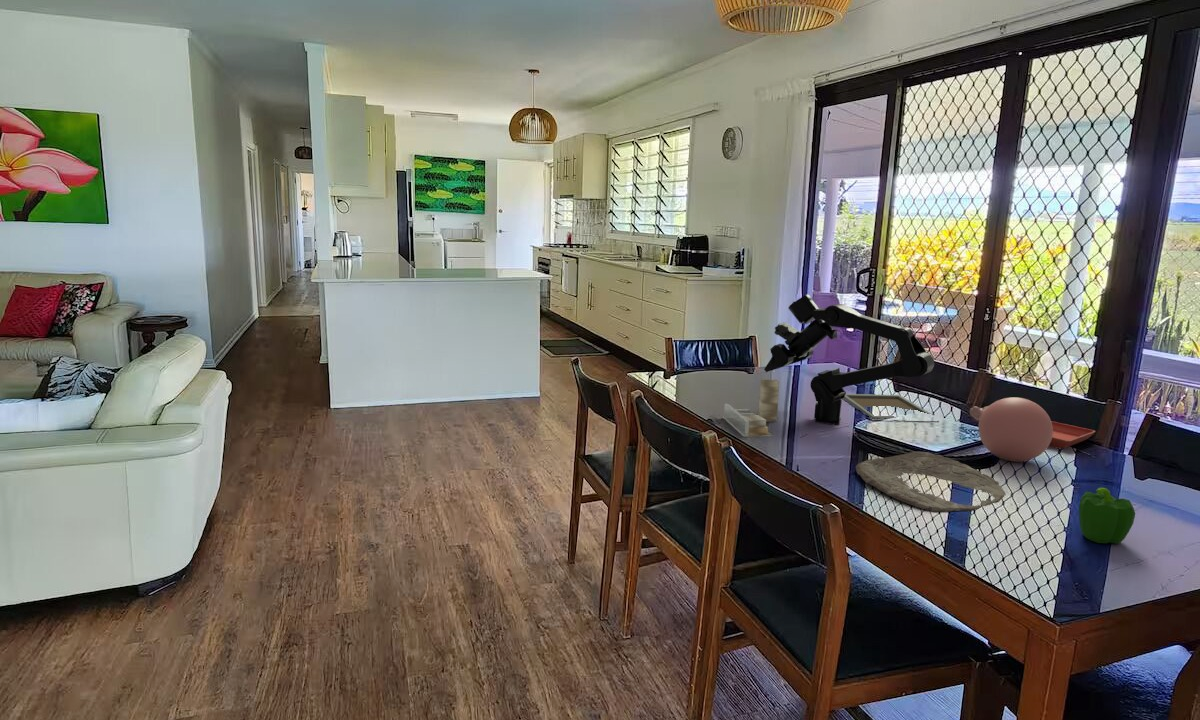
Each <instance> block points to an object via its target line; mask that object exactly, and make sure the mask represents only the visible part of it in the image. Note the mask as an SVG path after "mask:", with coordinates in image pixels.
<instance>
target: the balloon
mask: <svg viewBox="0 0 1200 720" xmlns="http://www.w3.org/2000/svg"><path fill="white" fill-rule="evenodd" d="M969 414H970V416H971V417H972V418H974V419H975V421H978V433H979V438H980V440H981V442H982V444H983V446H984V447H985V448H986V449H987V450H988V451H989V452H990V453H991V454H992V455H994V456H995V457H997V458H1000V459H1002V460H1005V461H1008V462H1016V463H1017V462H1019V463H1020V462H1026V461H1030V460H1033V459H1035V458H1037V457H1040V455H1042V454H1043V453H1044V452H1045V451H1046V450H1047V449H1048V448H1049V447H1050V446H1049V444H1050V442H1051V440H1052V436H1053V426H1052V422H1051V421H1052V420H1051V418H1050V416H1049V414H1048V413H1047V411H1046V410H1045V409H1044V408H1043V407H1041V406H1040V405H1039V404H1038V403H1036V402H1034V401H1032V400H1030V399H1028V398H1024V397H1017V396H1016V397H1014V396H1013V397H1004V398H1002V399H998V400H996V401H994V402H993V403H991V404H990V405H987V406H984V407H978V406H977V405H976V406H975V405H974V406H973V407H971V408H970V409H969Z"/></svg>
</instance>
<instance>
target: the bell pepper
mask: <svg viewBox="0 0 1200 720" xmlns="http://www.w3.org/2000/svg"><path fill="white" fill-rule="evenodd" d="M1095 491H1096V492H1091V491H1085V492H1084V494H1083V495H1082V496H1081V498H1080V500H1079V506H1078V507H1079V508H1078V517H1079V518H1078V519H1079V526H1080V531H1081V533H1082V534H1083V536H1084V538H1086V539H1087V540H1090V541H1091V542H1094V543H1097V544H1109V543H1110V544H1117V545H1119V544H1121V542H1123V541H1124V540H1125V539H1126V537H1127V535H1129V532H1130V530H1131V529H1132V526H1133V525H1134V522H1135V518H1136V517H1135V516H1136V511H1135V509H1134V505H1132V502H1131V500H1130V499H1126V498H1115V496H1112V494H1111V491H1110V490H1109V489H1108V488H1106V487H1098V488H1097V489H1096V490H1095Z"/></svg>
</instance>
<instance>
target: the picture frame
mask: <svg viewBox="0 0 1200 720" xmlns="http://www.w3.org/2000/svg"><path fill="white" fill-rule="evenodd" d="M843 400H844V401H845V402H847V403H848V404H850V405H851V406H852V405H853V406H852V407H854V408H855V409H856V410H858V411H859V410H860V411H859V412H861V411H862V412H863V413H865V414H866V415H868V416H869V417H872V418H889V417H894V416H874V415H873V414H871V413H870V412H869V411H867V410H866V409H864V407H871V406H876V407H878V406H886V405H887V406H891V407H894V406H895V407H899V408H902V409H903V408H904V409H909V410H910V409H911V410H918V411H920V412H924V413H927V414H932V413H931V412H929V411H928V410H927V409H926V410H925V409H924V408H923V407H920V406H919V405H917V404H916V403H914V402H912V401H910V400H909V399H907V398H905V397H903V396H902V395H900V394H870V393H846V395H845V397H844V399H843ZM862 412H861V413H862ZM863 413H862V414H863ZM865 414H864V415H865ZM866 415H865V416H866ZM869 417H868V418H869Z"/></svg>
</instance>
